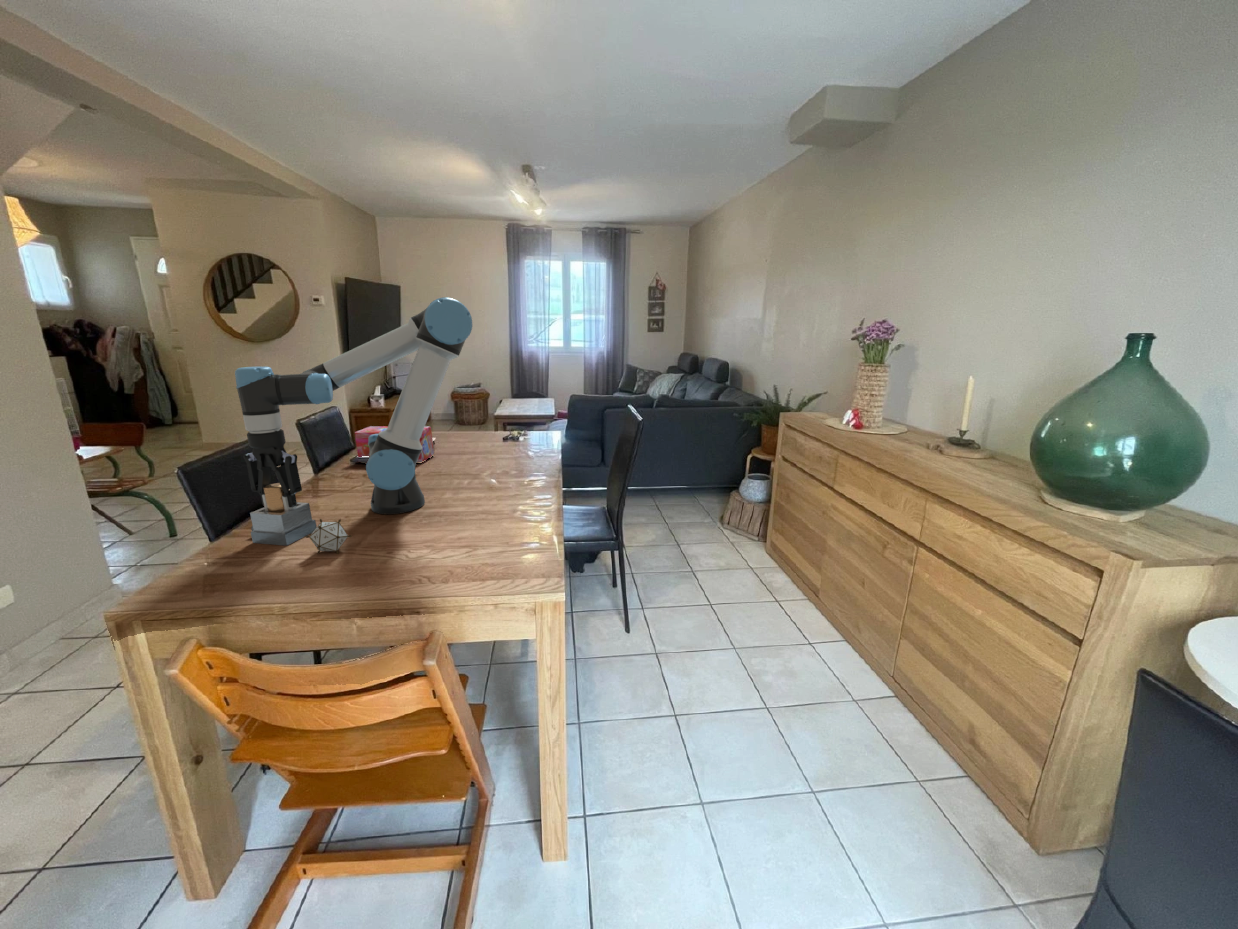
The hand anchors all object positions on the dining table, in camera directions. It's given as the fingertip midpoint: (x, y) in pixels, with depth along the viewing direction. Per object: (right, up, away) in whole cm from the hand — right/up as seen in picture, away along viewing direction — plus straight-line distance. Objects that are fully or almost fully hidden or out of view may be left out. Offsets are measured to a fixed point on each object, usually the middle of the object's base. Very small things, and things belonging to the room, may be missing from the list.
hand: (282, 517), depth 127 cm
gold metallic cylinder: (0, -2, +1) cm, 2 cm away
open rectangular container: (-2, -5, +2) cm, 6 cm away
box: (-5, +15, +77) cm, 79 cm away
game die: (+17, -8, -7) cm, 20 cm away
